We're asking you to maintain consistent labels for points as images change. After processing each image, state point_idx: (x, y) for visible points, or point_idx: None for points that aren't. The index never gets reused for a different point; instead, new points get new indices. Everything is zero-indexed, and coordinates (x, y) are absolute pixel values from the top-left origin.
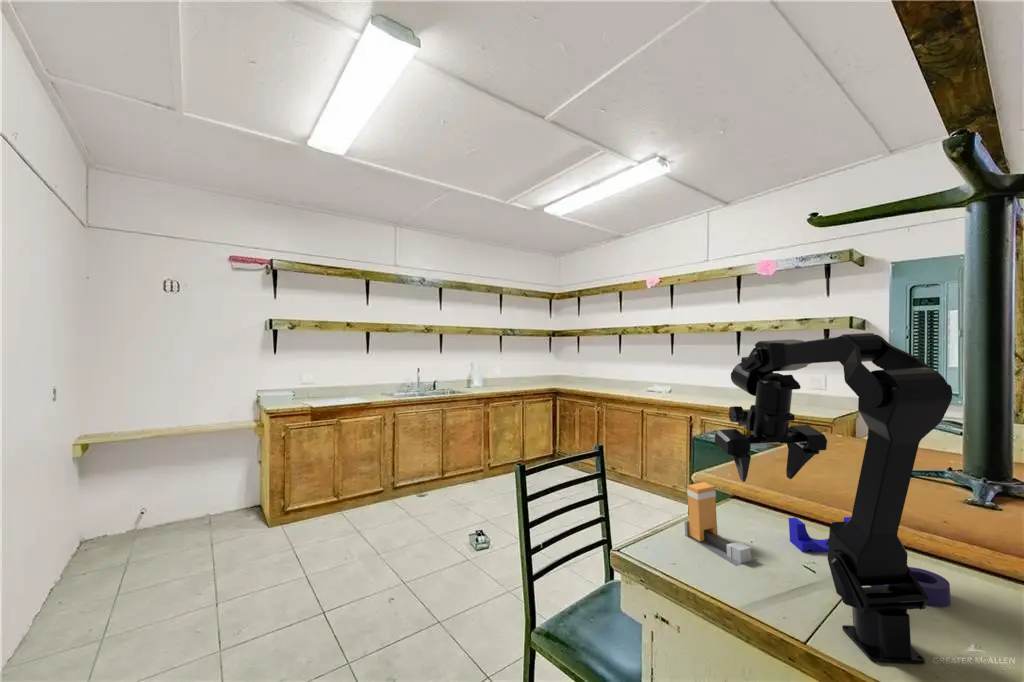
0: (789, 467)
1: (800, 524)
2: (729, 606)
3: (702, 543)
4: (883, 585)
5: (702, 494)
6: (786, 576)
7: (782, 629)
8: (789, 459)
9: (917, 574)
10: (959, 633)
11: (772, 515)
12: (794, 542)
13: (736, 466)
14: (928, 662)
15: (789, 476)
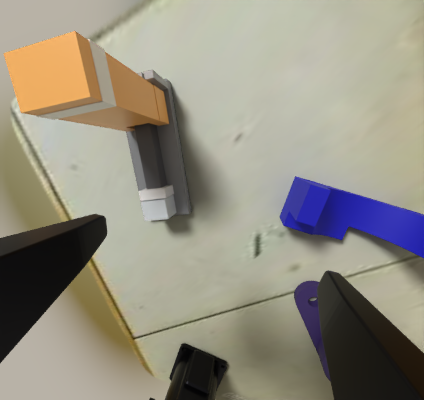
0: (345, 339)
1: (304, 223)
2: (97, 272)
3: (132, 134)
4: (305, 325)
5: (56, 114)
6: (207, 249)
7: (127, 319)
8: (391, 396)
9: None
10: (294, 390)
11: (410, 13)
12: (291, 195)
13: (13, 239)
14: (218, 393)
15: (321, 296)
